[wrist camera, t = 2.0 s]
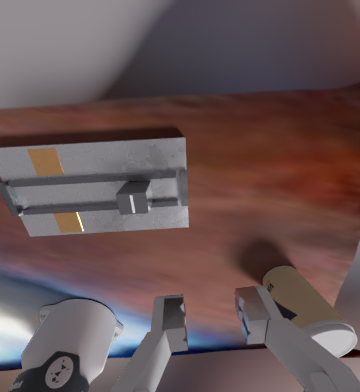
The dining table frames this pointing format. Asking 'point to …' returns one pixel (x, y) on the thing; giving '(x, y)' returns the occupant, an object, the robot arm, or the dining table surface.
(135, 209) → the fader knob
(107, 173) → the console
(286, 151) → the dining table surface
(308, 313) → the coffee cup
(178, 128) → the dining table surface
